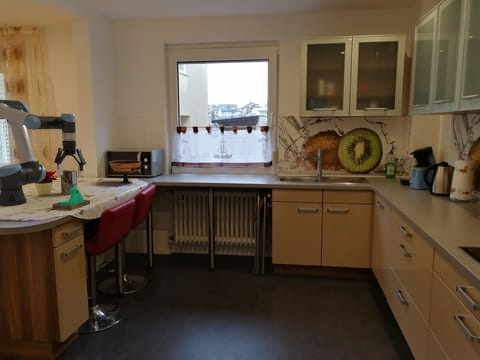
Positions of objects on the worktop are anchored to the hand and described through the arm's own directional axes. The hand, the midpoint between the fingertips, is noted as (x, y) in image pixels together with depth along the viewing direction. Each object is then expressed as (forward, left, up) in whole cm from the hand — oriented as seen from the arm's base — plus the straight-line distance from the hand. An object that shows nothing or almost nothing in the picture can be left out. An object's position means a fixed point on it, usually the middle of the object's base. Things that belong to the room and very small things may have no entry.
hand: (70, 175), depth 223 cm
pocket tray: (0, 0, -19) cm, 19 cm away
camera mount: (0, 0, -18) cm, 18 cm away
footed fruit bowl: (-14, +86, -19) cm, 89 cm away
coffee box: (-26, +32, -19) cm, 46 cm away
